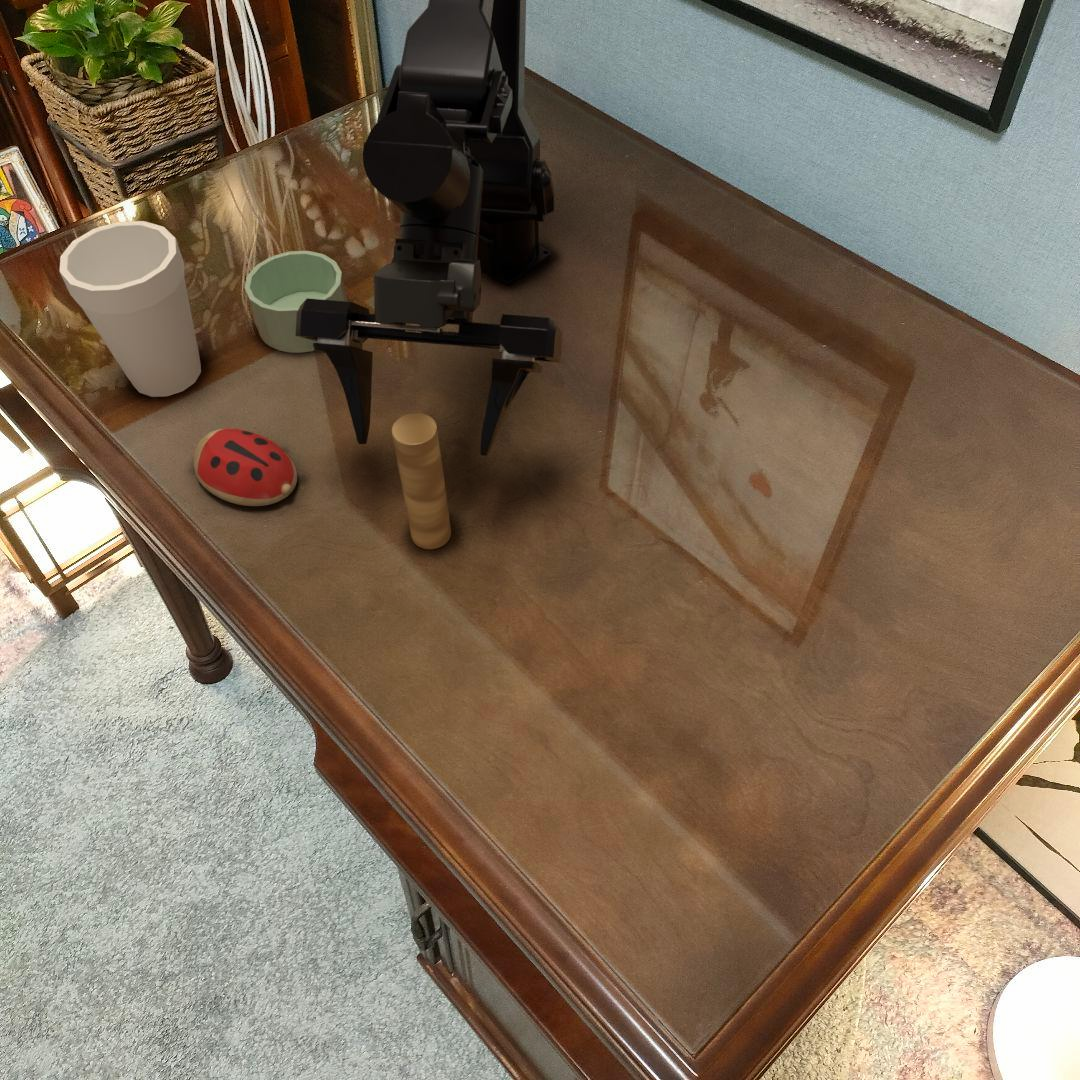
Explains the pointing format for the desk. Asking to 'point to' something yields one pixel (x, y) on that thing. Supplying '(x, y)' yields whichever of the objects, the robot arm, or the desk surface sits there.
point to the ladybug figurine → (244, 468)
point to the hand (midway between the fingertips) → (422, 449)
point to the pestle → (422, 479)
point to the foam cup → (137, 302)
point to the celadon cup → (290, 294)
